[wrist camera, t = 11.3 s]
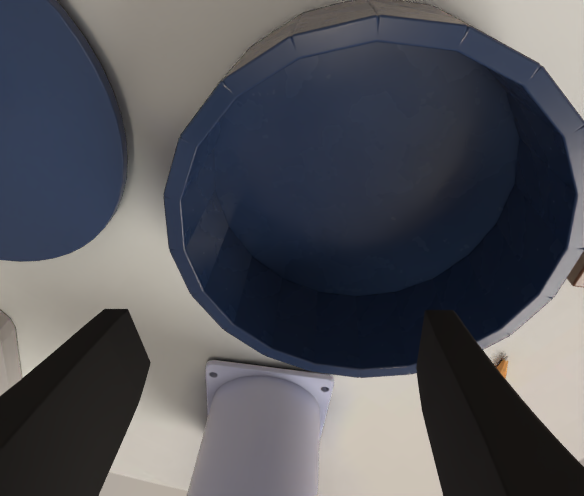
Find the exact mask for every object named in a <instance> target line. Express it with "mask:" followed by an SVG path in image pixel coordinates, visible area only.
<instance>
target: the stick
mask: <svg viewBox="0 0 584 496" xmlns="http://www.w3.org/2000/svg"><path fill="white" fill-rule="evenodd" d="M567 279H568V280H569V282H570V283H571V285H573V286H577V287H584V252H583V253H582V255H581V256H580V258H579V259H578V261H577V263H576V264H575V266H574V267H573V269H572V270H571V272H570V273H569V275H568V277H567Z"/></svg>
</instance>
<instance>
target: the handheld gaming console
mask: <svg viewBox="0 0 584 496" xmlns="http://www.w3.org/2000/svg"><path fill="white" fill-rule="evenodd" d="M21 379H22V376H21V368H20V360H19V353H18V345H17V337H16V330H15V326H14V324H13V323H12V321H11V319H10V318H9V317H8V316H7V315H5V314H4V313H3V312H2V311H1V310H0V396H1V395H2V394H3V393H5V392H6V391H7V390H8V389H10V388H11V387H12V386H13V385H15V384H16V383H17V382H18V381H20V380H21Z"/></svg>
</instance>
